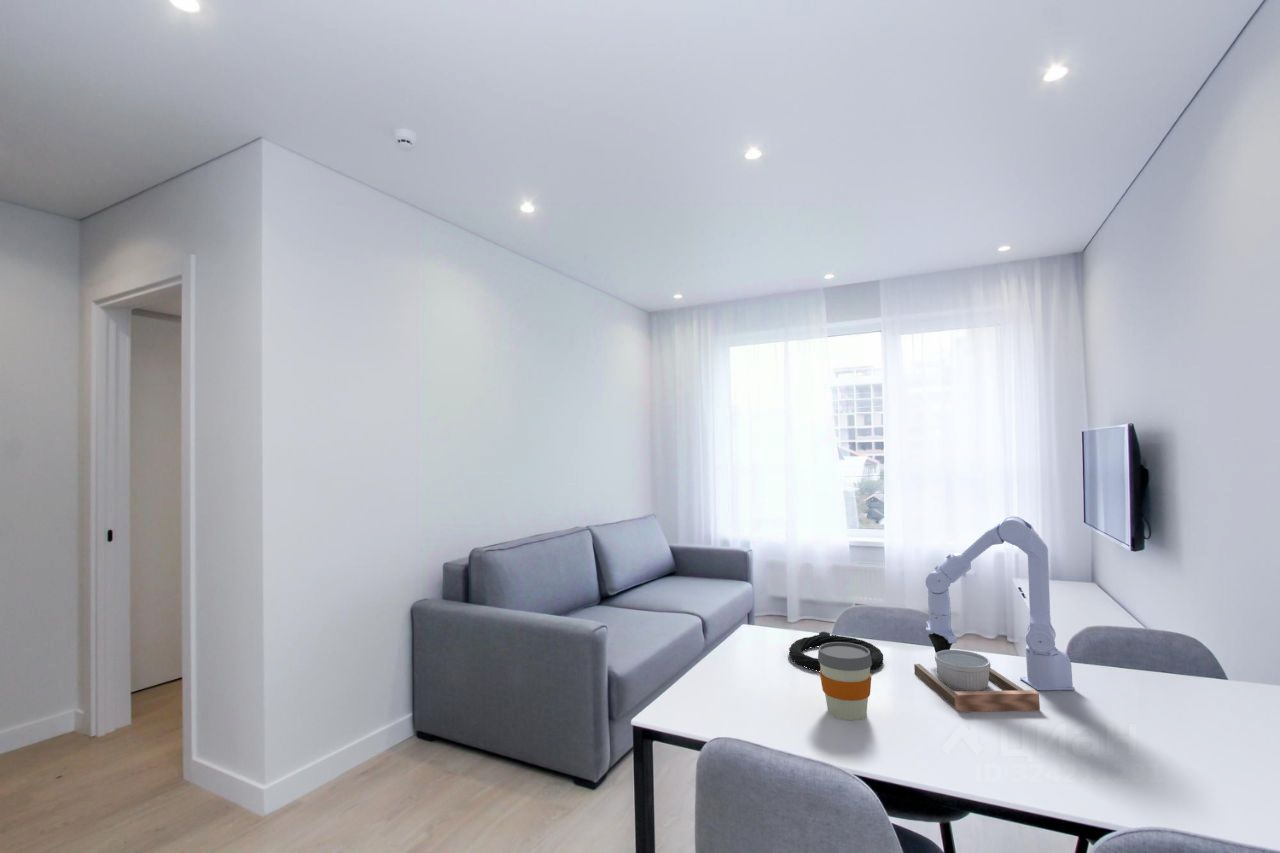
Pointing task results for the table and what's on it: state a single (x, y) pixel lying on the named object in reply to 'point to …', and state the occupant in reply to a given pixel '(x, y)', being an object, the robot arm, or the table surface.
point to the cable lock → (823, 639)
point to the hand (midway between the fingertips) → (942, 660)
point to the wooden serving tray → (984, 694)
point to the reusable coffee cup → (845, 679)
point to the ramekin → (963, 669)
